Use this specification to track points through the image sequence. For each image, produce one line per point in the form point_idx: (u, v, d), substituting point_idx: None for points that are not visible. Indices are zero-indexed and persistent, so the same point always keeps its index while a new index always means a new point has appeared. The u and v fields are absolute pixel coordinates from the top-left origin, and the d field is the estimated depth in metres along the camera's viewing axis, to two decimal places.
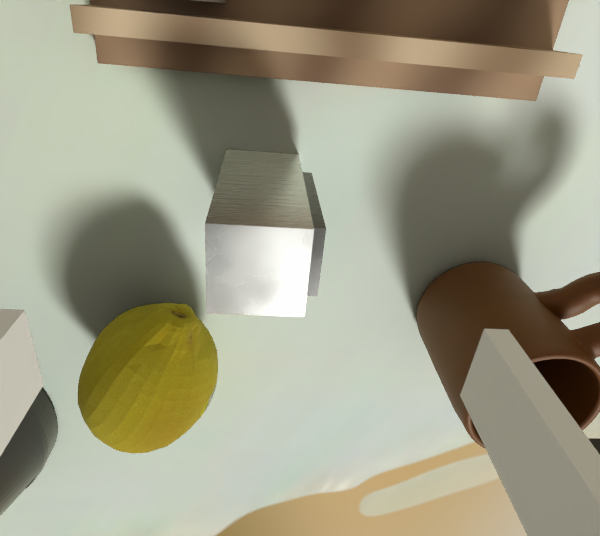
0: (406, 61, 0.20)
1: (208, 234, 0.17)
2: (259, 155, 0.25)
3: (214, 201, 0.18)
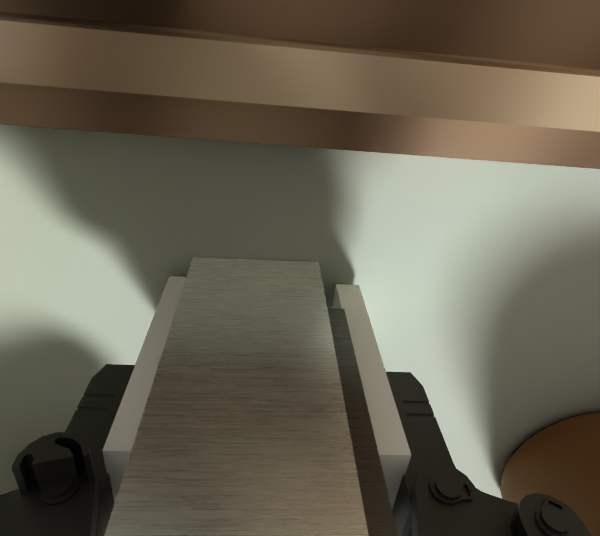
0: (580, 126, 0.09)
1: None
2: (250, 270, 0.14)
3: (128, 482, 0.08)
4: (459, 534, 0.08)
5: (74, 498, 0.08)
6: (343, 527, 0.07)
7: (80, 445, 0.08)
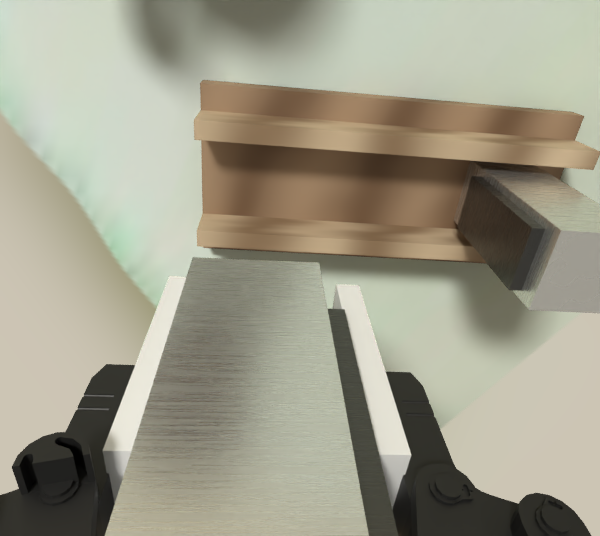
0: (347, 133, 0.24)
1: None
2: (250, 271, 0.14)
3: (128, 484, 0.08)
4: (459, 534, 0.08)
5: (74, 498, 0.08)
6: (344, 529, 0.07)
7: (80, 445, 0.08)
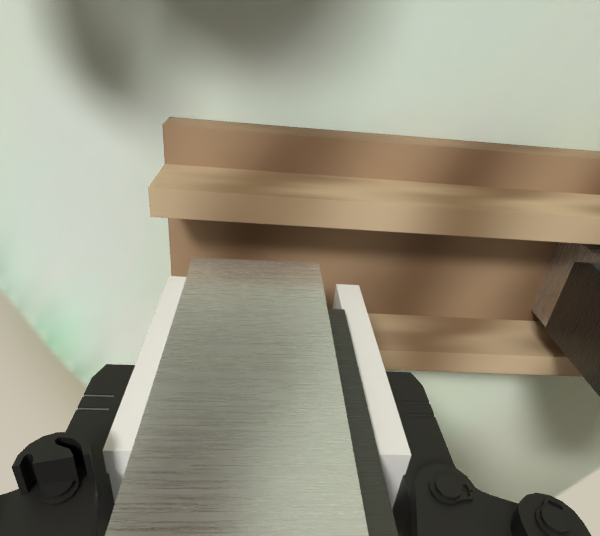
0: (392, 206, 0.15)
1: None
2: (250, 271, 0.14)
3: (128, 484, 0.08)
4: (459, 534, 0.08)
5: (74, 498, 0.08)
6: (344, 529, 0.07)
7: (80, 445, 0.08)
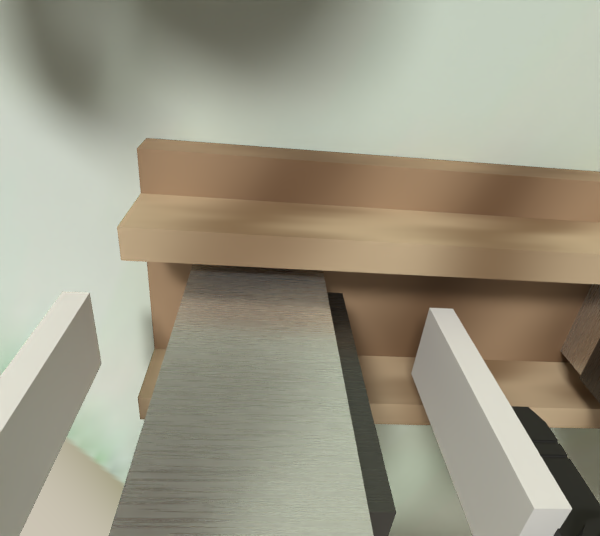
0: (409, 246, 0.13)
1: None
2: None
3: (146, 435, 0.08)
4: None
5: None
6: (341, 476, 0.08)
7: None
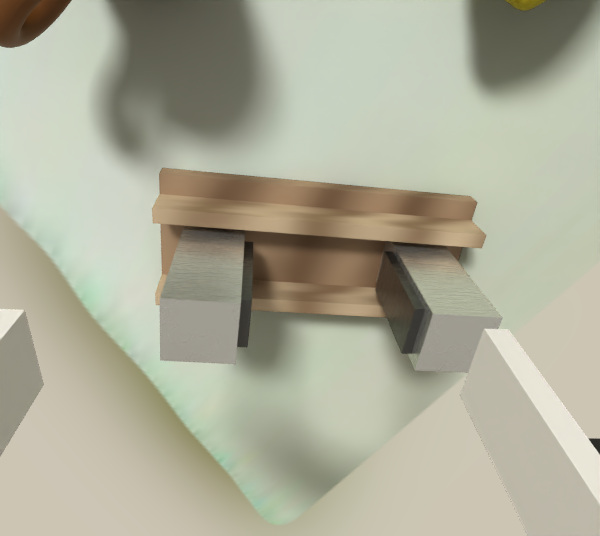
0: (279, 219, 0.29)
1: (162, 305, 0.23)
2: None
3: (169, 276, 0.24)
4: None
5: None
6: (234, 288, 0.24)
7: None
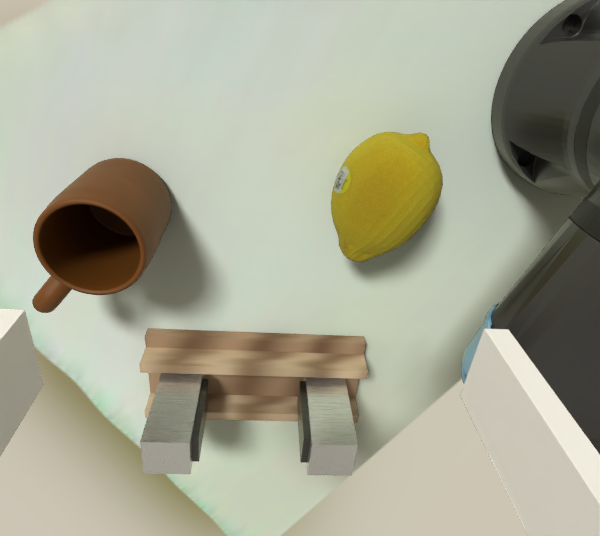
0: (224, 367, 0.44)
1: (142, 445, 0.38)
2: None
3: (147, 421, 0.39)
4: None
5: None
6: (187, 429, 0.39)
7: None
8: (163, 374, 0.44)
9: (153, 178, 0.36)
